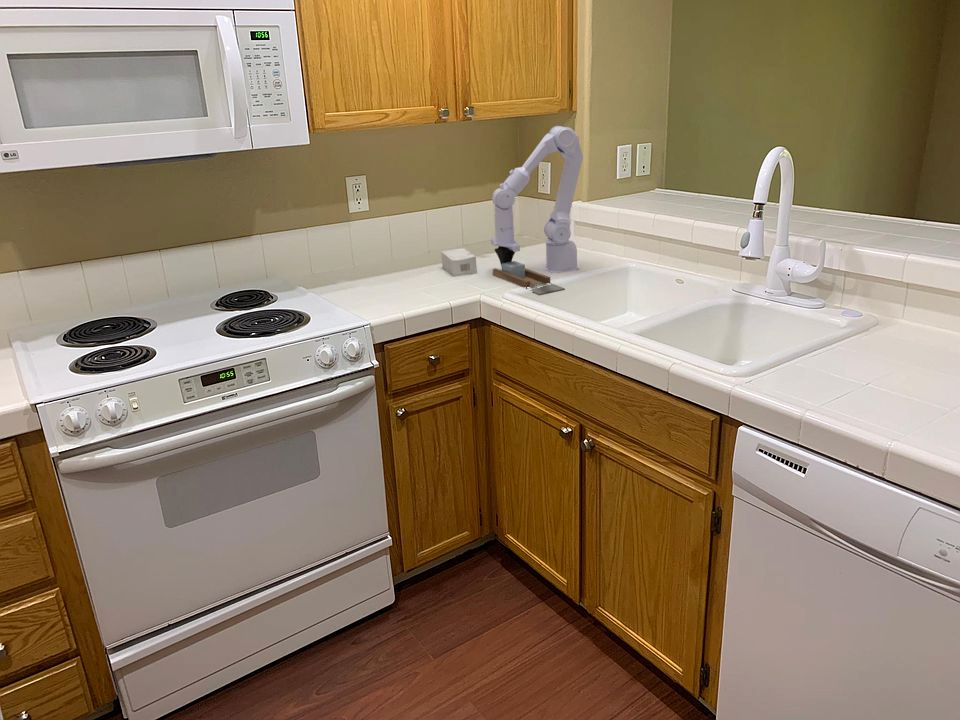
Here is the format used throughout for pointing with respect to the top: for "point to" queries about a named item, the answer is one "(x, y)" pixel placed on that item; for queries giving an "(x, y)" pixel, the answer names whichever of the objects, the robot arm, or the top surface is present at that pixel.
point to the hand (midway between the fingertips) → (506, 270)
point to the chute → (529, 281)
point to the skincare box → (459, 262)
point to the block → (514, 268)
